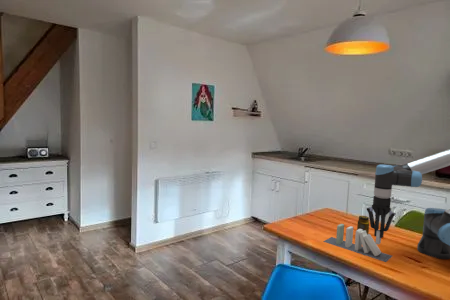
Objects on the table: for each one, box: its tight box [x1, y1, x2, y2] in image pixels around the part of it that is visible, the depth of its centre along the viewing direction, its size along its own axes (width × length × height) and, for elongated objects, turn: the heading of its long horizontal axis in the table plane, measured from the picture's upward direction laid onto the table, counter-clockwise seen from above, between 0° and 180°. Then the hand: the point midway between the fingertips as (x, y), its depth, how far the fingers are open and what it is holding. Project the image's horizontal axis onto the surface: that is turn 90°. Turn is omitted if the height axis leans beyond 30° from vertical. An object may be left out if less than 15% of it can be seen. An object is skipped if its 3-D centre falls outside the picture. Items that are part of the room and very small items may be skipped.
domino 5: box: [363, 233, 382, 256], centre depth 153 cm, size 2×5×10 cm
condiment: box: [356, 215, 370, 235], centre depth 176 cm, size 7×8×12 cm
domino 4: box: [359, 230, 371, 253], centre depth 156 cm, size 2×5×10 cm, turn 134°
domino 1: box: [335, 223, 345, 245], centre depth 165 cm, size 2×5×10 cm, turn 135°
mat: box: [322, 236, 393, 263], centre depth 159 cm, size 32×10×1 cm, turn 45°
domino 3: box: [354, 229, 363, 251], centre depth 158 cm, size 2×5×10 cm, turn 135°
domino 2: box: [344, 225, 354, 248], centre depth 162 cm, size 2×5×10 cm, turn 135°
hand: (378, 243), depth 151 cm, fingers closed
